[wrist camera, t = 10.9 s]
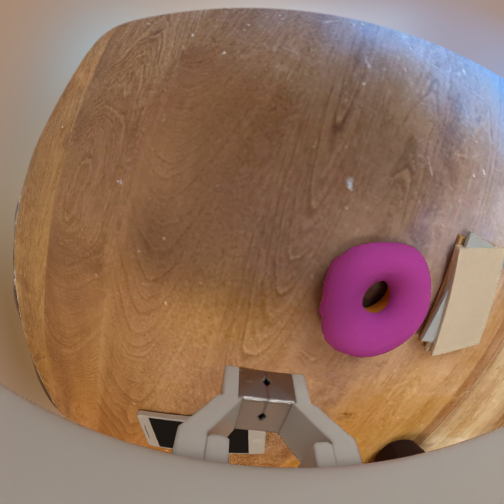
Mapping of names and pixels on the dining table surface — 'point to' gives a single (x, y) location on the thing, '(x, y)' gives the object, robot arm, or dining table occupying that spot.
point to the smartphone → (165, 425)
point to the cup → (399, 450)
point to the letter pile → (464, 296)
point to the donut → (385, 310)
